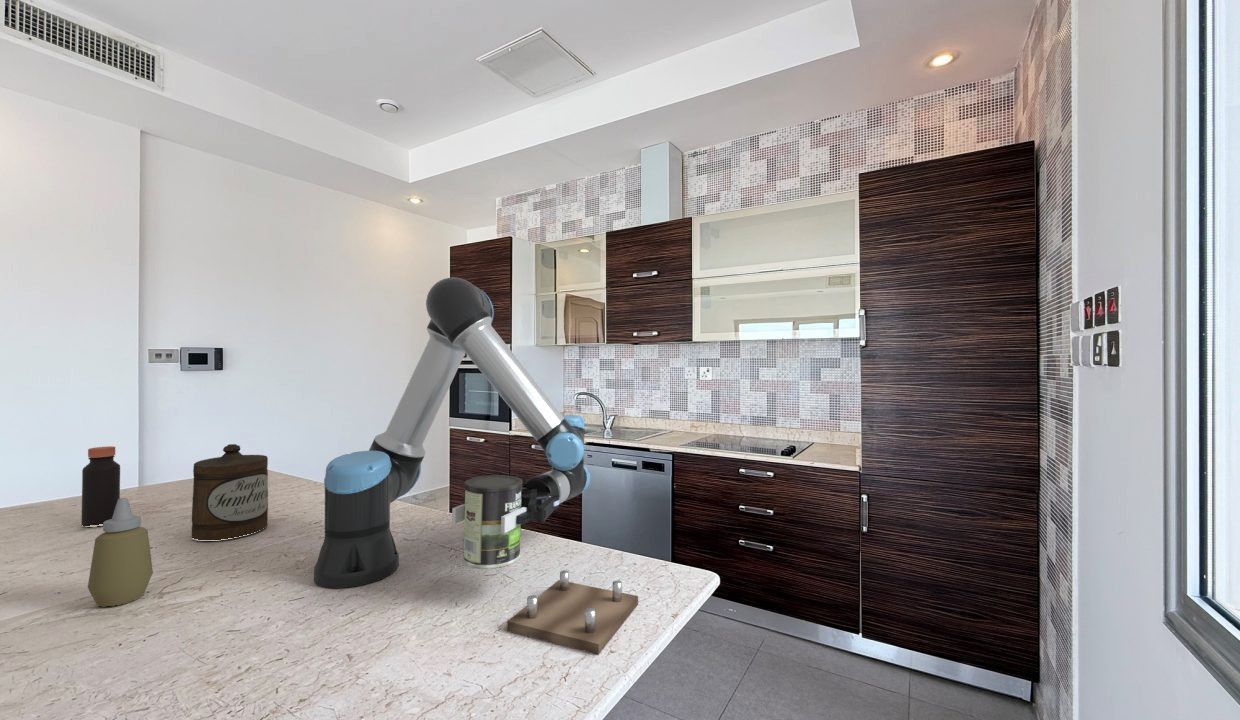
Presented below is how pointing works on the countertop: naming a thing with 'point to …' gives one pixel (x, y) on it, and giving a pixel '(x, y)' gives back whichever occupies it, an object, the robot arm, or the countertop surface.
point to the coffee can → (491, 521)
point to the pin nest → (574, 614)
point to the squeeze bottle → (120, 559)
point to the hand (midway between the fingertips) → (477, 520)
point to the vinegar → (100, 486)
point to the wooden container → (229, 495)
